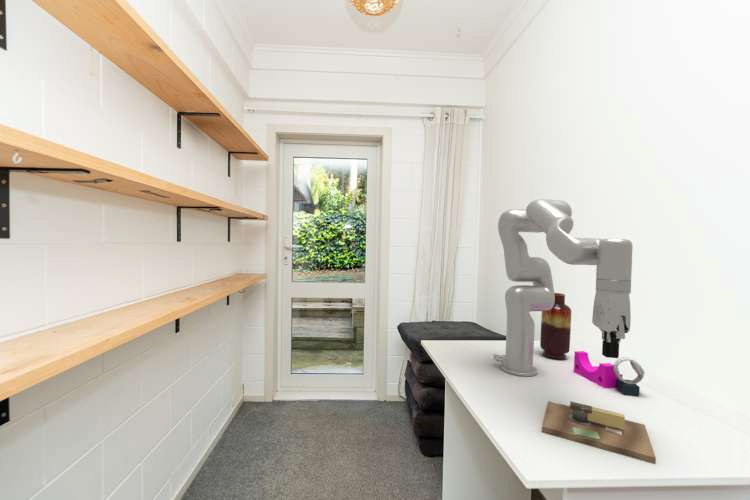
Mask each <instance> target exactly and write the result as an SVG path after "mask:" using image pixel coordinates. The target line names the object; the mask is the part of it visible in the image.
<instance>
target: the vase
mask: <svg viewBox="0 0 750 500" xmlns="http://www.w3.org/2000/svg"><path fill="white" fill-rule="evenodd" d="M554 295H555V303H554V306H553V307H552V309H550V310H548V311H541V319H540V320H541V323H540V338H539V339H540V344H539V346H540V349H542V350H543V351H542V355H543V356H545V357H548V358H552V359H558V360H563V359H566V358H567V354H568V353H569V352H570V344H571V327H572V325H571V324H572V309H571V307H570V306H568V305H567V304H566V295H565V294H564V293H561V292H560V293H559V292H554Z"/></svg>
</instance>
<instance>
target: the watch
mask: <svg viewBox="0 0 750 500" xmlns="http://www.w3.org/2000/svg"><path fill="white" fill-rule="evenodd" d="M627 361H629V364H630V366H631V368H632V369H633V370H634V372H635V373H636V374H637V376H636V377H635V378H634V379H632V380H631V379H624V378H623V376H622V377H621V375H620V374H621V372H620V371H619V366H620V365H621V364H622V363H623V362H627ZM613 365H614V368H613V369H614V372H615V374H616V376H617V377H618V378H619V379H616V388H615V389H616V390H618V392H620V394H621V395H623V396H629V397H631V396H632V397H637V398H640V389H641V387H640V386H638V385H637V384H639V383H640V382H641V381H643V379H644V375H645V370H644V369H643V367H642V365H641V364H640V363H639V362H638V361H637V360H636V359H634V358H633V359H632V358H630V357H627V356H626V357H619V358H617V359H616V360H615V362H614V364H613Z"/></svg>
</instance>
